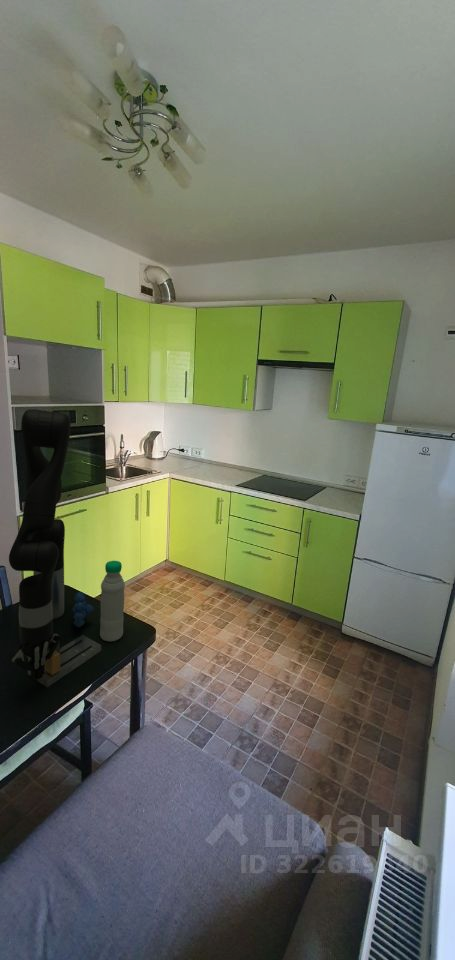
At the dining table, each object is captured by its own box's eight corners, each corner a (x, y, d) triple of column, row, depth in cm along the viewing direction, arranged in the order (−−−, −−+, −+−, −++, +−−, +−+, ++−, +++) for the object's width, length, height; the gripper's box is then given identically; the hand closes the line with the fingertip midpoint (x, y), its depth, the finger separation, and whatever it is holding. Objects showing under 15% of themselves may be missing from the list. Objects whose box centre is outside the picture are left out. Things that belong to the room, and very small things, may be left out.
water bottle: (116, 644, 119) (118, 569, 113) (95, 639, 120) (96, 565, 115) (126, 631, 126) (129, 560, 120) (106, 627, 127) (108, 556, 121)
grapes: (93, 635, 122) (93, 601, 119) (70, 638, 120) (70, 603, 117) (93, 614, 133) (94, 582, 130) (72, 616, 131) (72, 584, 128)
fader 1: (45, 657, 107) (44, 641, 106) (52, 653, 109) (52, 637, 108) (52, 662, 106) (51, 645, 105) (59, 657, 108) (59, 641, 107)
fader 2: (45, 670, 103) (44, 653, 102) (52, 665, 105) (52, 648, 104) (52, 675, 101) (52, 658, 100) (60, 669, 103) (60, 653, 102)
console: (27, 674, 104) (27, 667, 103) (82, 640, 119) (82, 634, 119) (47, 687, 100) (46, 680, 100) (101, 650, 116) (101, 644, 115)
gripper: (50, 601, 103) (51, 657, 107) (0, 624, 92) (3, 686, 96) (69, 611, 99) (69, 669, 103) (19, 636, 88) (21, 700, 92)
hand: (37, 677), depth 99 cm, fingers closed
